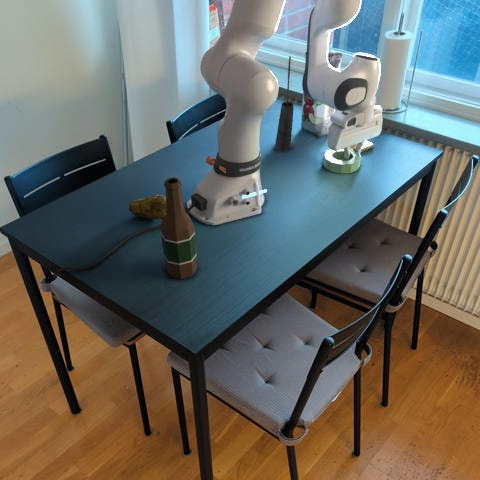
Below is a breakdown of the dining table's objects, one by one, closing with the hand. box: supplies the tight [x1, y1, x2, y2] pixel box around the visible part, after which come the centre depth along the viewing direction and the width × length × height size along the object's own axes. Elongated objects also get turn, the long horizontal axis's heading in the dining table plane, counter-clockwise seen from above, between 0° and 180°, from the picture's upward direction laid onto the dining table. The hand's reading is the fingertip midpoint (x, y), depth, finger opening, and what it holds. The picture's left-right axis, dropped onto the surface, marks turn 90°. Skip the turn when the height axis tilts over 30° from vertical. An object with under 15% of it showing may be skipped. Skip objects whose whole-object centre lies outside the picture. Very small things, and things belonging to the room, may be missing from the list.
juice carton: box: [300, 49, 343, 138], centre depth 174 cm, size 9×10×27 cm
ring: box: [322, 148, 362, 174], centre depth 165 cm, size 11×11×3 cm
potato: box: [128, 194, 167, 221], centre depth 142 cm, size 8×13×8 cm, turn 43°
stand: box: [350, 140, 374, 153], centre depth 170 cm, size 9×9×12 cm
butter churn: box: [274, 55, 295, 152], centre depth 164 cm, size 9×10×28 cm
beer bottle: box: [160, 177, 198, 280], centre depth 120 cm, size 8×8×24 cm
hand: (352, 155), depth 166 cm, fingers open, 3 cm apart
